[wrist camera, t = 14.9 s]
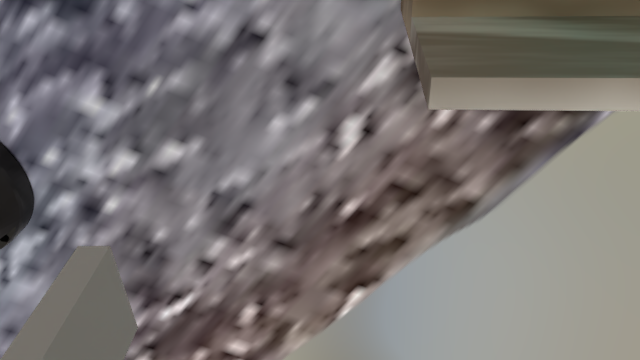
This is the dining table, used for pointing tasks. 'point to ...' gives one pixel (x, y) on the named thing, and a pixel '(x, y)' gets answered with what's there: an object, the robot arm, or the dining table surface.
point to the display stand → (526, 53)
